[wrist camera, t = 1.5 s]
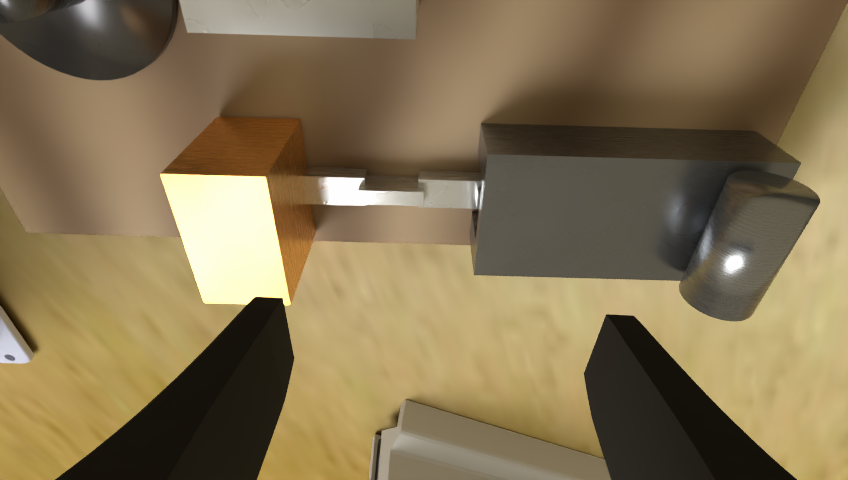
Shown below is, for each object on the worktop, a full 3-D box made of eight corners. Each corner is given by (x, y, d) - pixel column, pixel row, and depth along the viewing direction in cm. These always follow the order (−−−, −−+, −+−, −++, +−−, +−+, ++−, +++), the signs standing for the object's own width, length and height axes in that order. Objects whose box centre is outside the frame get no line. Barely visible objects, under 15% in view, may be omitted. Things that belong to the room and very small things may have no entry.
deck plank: (38, 222, 21) (26, 232, 20) (-260, -325, 11) (-302, -339, 11) (713, 241, 21) (722, 252, 20) (964, -285, 12) (996, -295, 11)
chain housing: (469, 235, 20) (478, 320, 16) (480, 123, 17) (496, 192, 13) (704, 242, 20) (773, 328, 16) (755, 130, 17) (856, 202, 13)
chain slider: (244, 230, 20) (203, 302, 16) (217, 116, 17) (160, 173, 13) (681, 242, 20) (736, 317, 16) (729, 131, 17) (809, 192, 13)
